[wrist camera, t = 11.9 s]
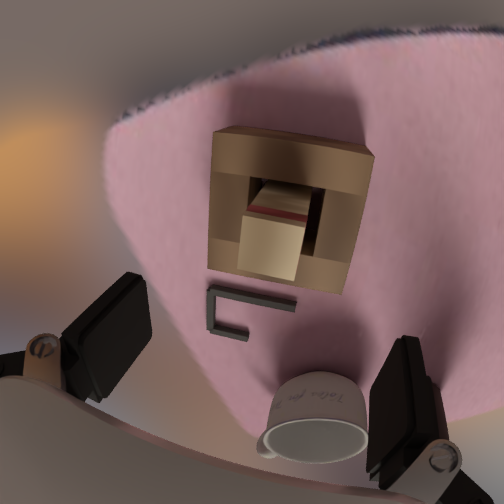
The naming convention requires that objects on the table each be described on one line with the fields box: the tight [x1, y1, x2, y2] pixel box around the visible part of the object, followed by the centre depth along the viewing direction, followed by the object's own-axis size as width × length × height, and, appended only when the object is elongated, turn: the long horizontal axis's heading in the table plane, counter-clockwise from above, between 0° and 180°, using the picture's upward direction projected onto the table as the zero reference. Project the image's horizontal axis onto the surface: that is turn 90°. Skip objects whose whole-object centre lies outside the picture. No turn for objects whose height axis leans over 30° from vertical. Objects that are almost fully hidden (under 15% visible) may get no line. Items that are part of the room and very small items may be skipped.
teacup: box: [257, 371, 368, 463], centre depth 31 cm, size 14×11×8 cm
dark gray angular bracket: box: [207, 285, 297, 342], centre depth 30 cm, size 8×6×1 cm
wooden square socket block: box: [207, 126, 375, 295], centre depth 22 cm, size 10×10×4 cm
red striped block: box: [237, 179, 313, 281], centre depth 20 cm, size 3×3×9 cm
